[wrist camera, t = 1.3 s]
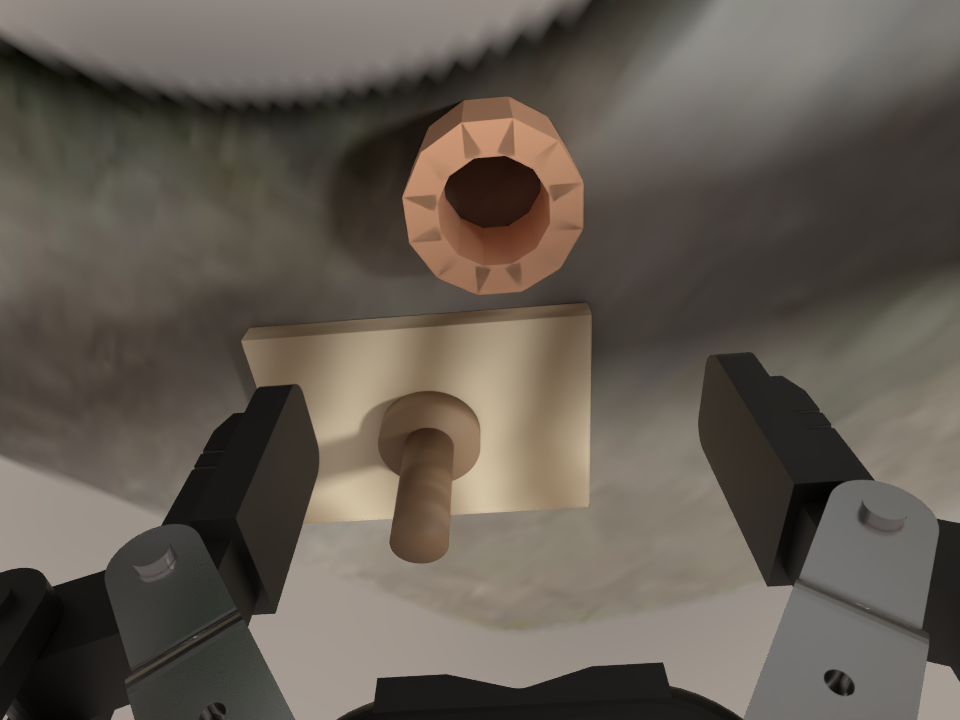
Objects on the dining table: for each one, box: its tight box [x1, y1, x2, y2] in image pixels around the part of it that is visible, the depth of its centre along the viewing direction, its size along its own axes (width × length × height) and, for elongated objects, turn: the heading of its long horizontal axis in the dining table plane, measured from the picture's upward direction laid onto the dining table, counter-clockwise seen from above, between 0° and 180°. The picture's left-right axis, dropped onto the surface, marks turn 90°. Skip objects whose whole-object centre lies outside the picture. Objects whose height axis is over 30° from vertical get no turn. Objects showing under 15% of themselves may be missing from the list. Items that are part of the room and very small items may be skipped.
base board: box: [241, 303, 592, 524], centre depth 32 cm, size 16×12×1 cm
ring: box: [402, 96, 584, 295], centre depth 24 cm, size 6×6×4 cm
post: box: [378, 391, 480, 563], centre depth 28 cm, size 5×5×7 cm
